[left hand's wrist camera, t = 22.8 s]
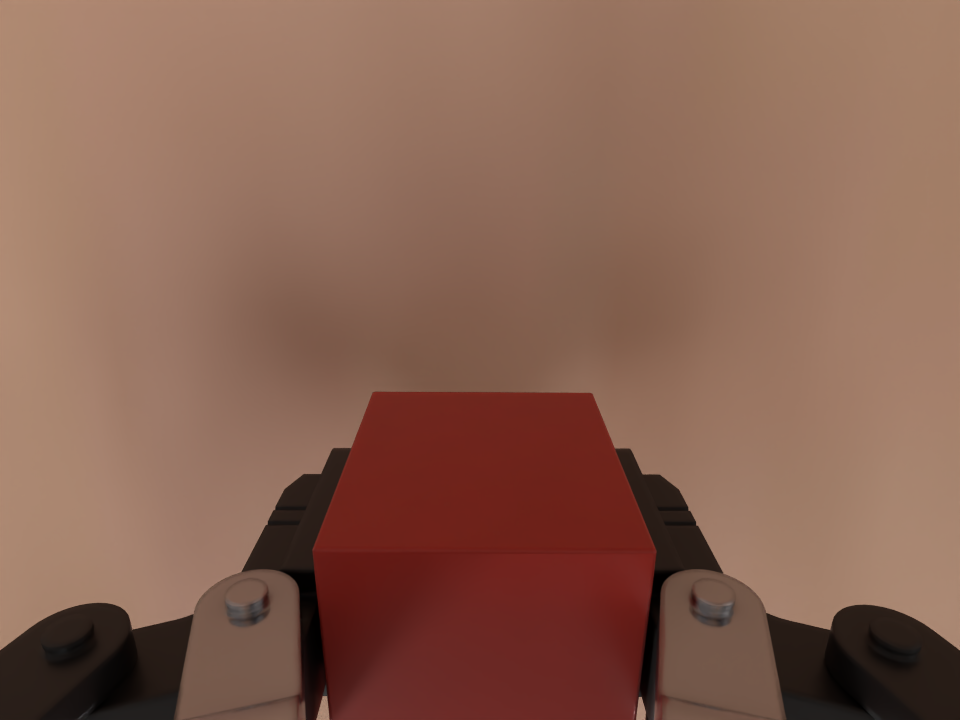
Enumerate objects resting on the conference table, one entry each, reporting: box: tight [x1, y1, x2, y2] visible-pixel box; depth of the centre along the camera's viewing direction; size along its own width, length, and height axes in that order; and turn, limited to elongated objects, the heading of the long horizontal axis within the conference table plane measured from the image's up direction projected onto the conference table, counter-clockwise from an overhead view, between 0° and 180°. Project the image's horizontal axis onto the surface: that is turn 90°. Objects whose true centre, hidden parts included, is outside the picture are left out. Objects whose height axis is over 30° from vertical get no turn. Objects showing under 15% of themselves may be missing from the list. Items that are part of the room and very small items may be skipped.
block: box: [312, 392, 657, 720], centre depth 11 cm, size 4×4×5 cm
